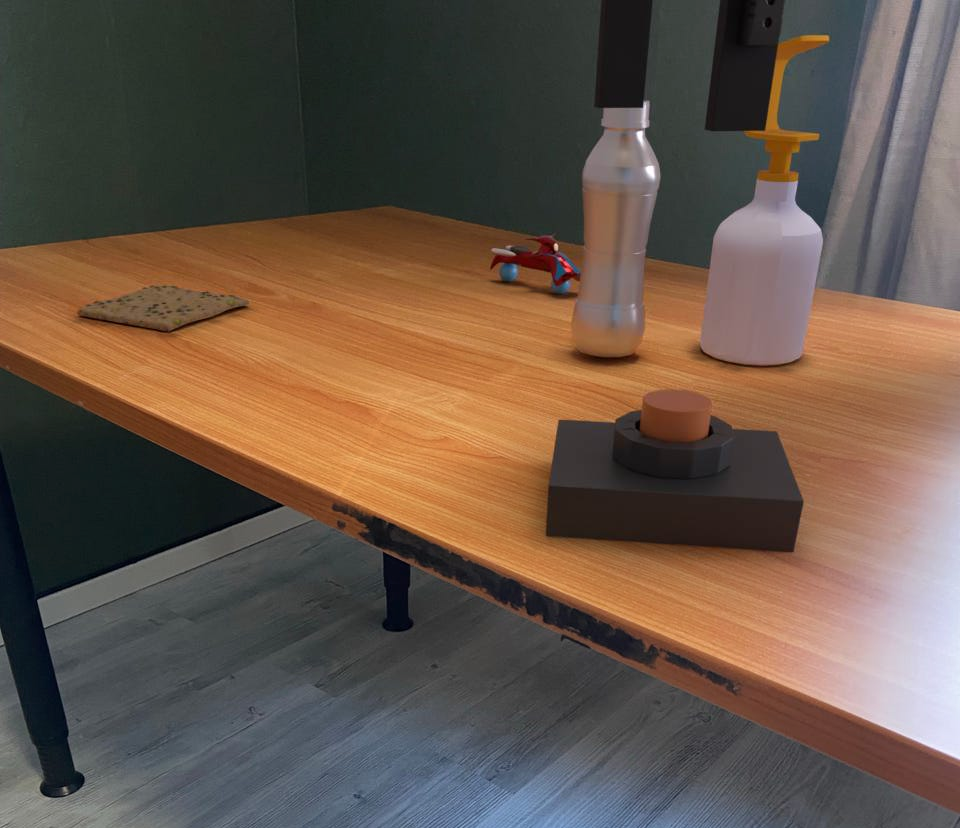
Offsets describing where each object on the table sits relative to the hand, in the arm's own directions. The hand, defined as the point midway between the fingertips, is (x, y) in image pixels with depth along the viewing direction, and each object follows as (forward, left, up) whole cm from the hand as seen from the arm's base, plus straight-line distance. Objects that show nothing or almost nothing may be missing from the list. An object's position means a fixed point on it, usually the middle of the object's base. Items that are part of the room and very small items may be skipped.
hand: (670, 118), depth 51 cm
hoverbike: (+10, -56, -21) cm, 61 cm away
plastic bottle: (+2, -31, -21) cm, 38 cm away
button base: (-2, +1, -21) cm, 21 cm away
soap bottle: (-11, -34, -21) cm, 41 cm away
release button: (-2, +1, -16) cm, 17 cm away
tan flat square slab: (+46, -39, -21) cm, 64 cm away
